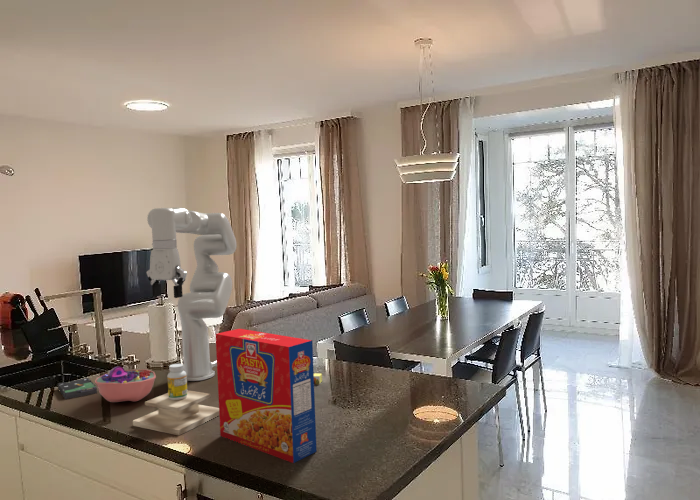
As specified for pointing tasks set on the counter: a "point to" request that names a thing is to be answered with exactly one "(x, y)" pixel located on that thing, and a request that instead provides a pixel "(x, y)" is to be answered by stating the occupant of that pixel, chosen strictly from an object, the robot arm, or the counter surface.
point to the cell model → (125, 384)
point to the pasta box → (267, 392)
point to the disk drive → (77, 388)
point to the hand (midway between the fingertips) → (167, 296)
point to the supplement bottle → (177, 382)
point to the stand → (177, 413)
